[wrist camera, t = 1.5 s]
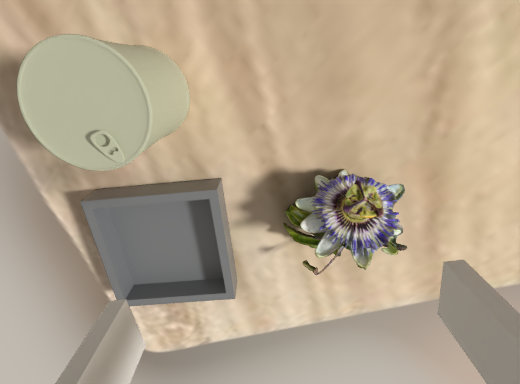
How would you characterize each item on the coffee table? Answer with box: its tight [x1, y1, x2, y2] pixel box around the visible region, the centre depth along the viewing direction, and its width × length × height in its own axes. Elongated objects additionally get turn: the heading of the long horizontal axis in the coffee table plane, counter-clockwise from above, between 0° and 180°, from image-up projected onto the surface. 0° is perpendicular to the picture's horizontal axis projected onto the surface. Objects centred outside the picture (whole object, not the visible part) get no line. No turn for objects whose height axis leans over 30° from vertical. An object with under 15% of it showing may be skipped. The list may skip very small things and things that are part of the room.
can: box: [17, 34, 190, 171], centre depth 25 cm, size 9×9×12 cm
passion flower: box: [283, 169, 407, 275], centre depth 32 cm, size 11×11×12 cm
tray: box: [80, 178, 237, 306], centre depth 36 cm, size 15×15×4 cm
